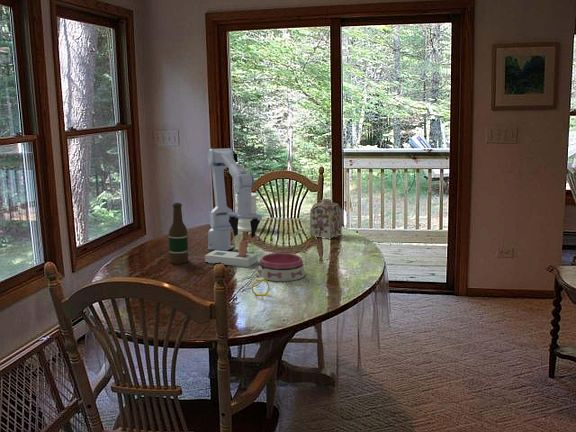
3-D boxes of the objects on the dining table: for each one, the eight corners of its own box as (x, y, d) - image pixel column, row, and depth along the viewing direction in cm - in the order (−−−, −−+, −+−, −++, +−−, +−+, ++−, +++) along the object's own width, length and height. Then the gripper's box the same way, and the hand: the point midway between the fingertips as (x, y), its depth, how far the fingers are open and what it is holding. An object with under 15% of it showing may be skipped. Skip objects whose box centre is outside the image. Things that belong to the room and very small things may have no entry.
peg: (237, 263, 240) (237, 241, 239) (240, 261, 243) (240, 240, 242) (244, 264, 240) (244, 242, 238) (247, 262, 242) (247, 240, 241)
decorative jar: (342, 235, 292) (342, 198, 288) (330, 239, 282) (331, 202, 279) (320, 232, 298) (321, 196, 295) (308, 236, 288) (309, 200, 285)
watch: (252, 297, 200) (250, 280, 199) (252, 294, 203) (250, 278, 202) (270, 295, 201) (268, 278, 200) (269, 293, 203) (268, 276, 202)
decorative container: (257, 231, 299) (257, 196, 296) (234, 231, 299) (233, 196, 296) (258, 226, 310) (258, 192, 307) (236, 226, 311) (236, 192, 307)
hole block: (205, 262, 242) (204, 255, 241) (215, 257, 250) (214, 250, 250) (248, 266, 236) (248, 259, 235) (257, 261, 244) (257, 254, 243)
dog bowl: (312, 280, 219) (312, 262, 218) (263, 284, 214) (263, 266, 213) (297, 267, 237) (297, 250, 235) (251, 270, 231) (251, 253, 230)
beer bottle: (192, 260, 245) (190, 202, 241) (182, 265, 238) (181, 205, 234) (175, 258, 248) (173, 201, 243) (165, 263, 241) (163, 204, 236)
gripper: (223, 203, 239) (224, 236, 242) (257, 206, 234) (257, 239, 237) (231, 200, 246) (231, 233, 248) (263, 203, 241) (263, 236, 243)
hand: (244, 236), depth 243 cm, fingers open, 7 cm apart
